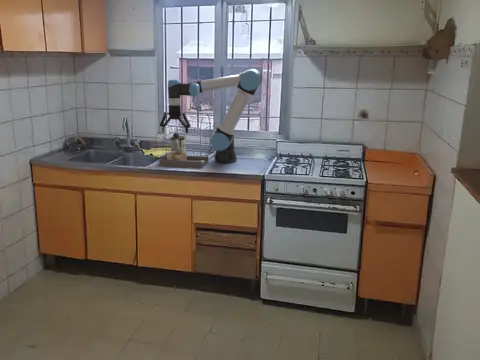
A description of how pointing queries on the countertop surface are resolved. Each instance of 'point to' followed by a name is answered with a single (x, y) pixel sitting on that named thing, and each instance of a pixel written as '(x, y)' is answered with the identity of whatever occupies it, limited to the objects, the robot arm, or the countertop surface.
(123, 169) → the countertop surface
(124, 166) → the countertop surface
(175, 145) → the wooden peg stand
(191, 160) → the tray
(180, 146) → the coffee can
